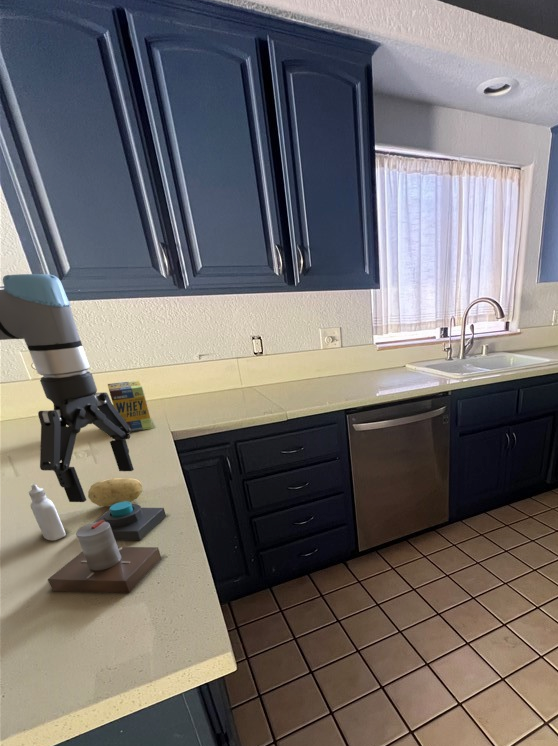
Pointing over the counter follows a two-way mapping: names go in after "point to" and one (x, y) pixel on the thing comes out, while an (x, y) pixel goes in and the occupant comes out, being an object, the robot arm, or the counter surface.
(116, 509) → the teal round puck
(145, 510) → the push button box
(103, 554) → the dial
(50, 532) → the eye dropper bottle
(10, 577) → the counter surface
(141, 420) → the protein box
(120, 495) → the potato
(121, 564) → the dial panel
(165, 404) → the counter surface
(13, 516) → the counter surface
